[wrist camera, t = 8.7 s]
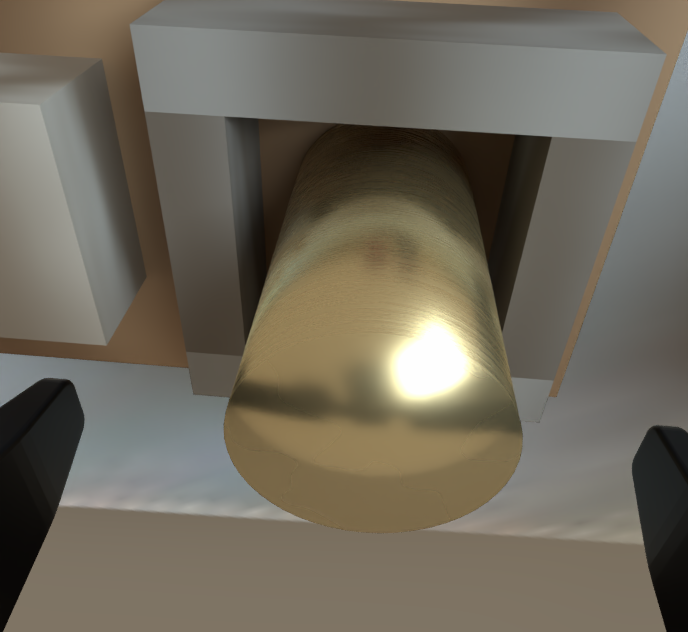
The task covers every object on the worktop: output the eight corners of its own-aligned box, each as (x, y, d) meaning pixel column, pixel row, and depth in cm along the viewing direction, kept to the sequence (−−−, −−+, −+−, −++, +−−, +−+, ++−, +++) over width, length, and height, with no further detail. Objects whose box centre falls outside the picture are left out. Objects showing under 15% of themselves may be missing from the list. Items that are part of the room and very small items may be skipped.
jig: (703, -110, 12) (824, -87, 9) (547, 364, 20) (577, 475, 17) (-160, -149, 13) (-369, -142, 9) (21, 324, 21) (-55, 422, 18)
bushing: (484, 118, 14) (555, 347, 8) (457, 276, 17) (492, 542, 10) (293, 106, 14) (208, 323, 8) (296, 266, 17) (235, 521, 11)
